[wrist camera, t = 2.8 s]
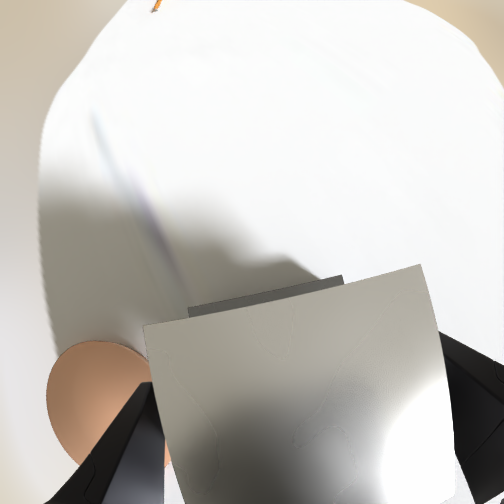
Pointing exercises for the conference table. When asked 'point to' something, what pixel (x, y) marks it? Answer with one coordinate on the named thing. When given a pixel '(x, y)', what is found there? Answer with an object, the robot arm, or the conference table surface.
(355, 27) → the conference table surface
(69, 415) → the terracotta coaster
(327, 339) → the steel peg
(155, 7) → the katana
